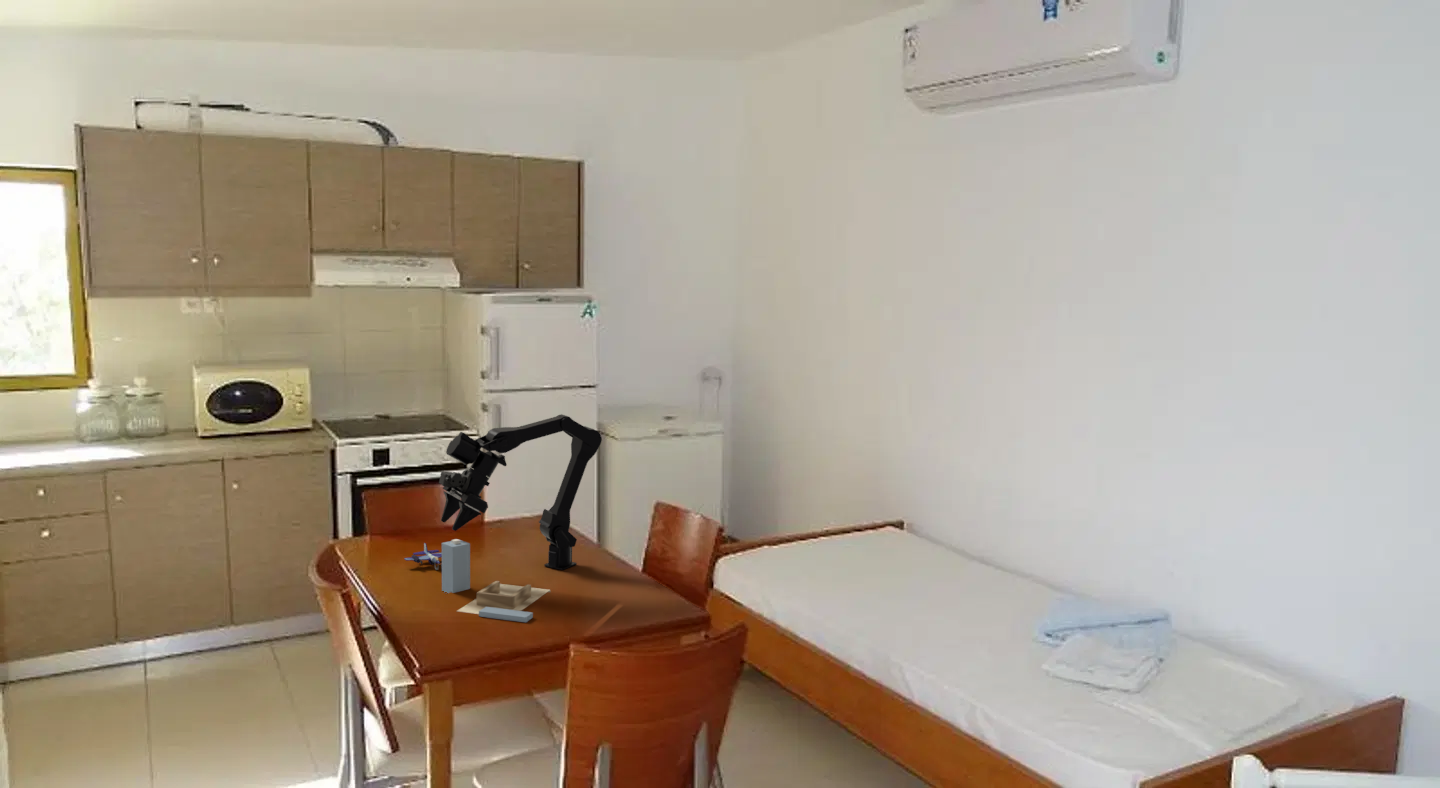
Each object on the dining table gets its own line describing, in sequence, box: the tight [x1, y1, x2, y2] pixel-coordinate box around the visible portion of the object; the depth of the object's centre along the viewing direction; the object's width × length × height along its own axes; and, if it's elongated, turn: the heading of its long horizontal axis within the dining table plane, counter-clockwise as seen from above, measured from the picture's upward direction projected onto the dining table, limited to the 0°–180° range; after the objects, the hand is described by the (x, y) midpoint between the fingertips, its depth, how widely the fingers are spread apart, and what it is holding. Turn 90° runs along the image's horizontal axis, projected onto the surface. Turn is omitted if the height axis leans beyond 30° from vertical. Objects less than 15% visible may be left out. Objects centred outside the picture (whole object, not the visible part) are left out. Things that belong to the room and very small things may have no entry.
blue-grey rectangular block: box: [441, 538, 471, 594], centre depth 259 cm, size 5×5×13 cm
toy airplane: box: [404, 542, 442, 571], centre depth 280 cm, size 13×14×4 cm
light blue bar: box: [478, 607, 534, 623], centre depth 240 cm, size 12×4×1 cm, turn 75°
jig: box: [456, 580, 551, 615], centre depth 252 cm, size 22×14×4 cm, turn 165°
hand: (448, 525), depth 265 cm, fingers open, 9 cm apart
